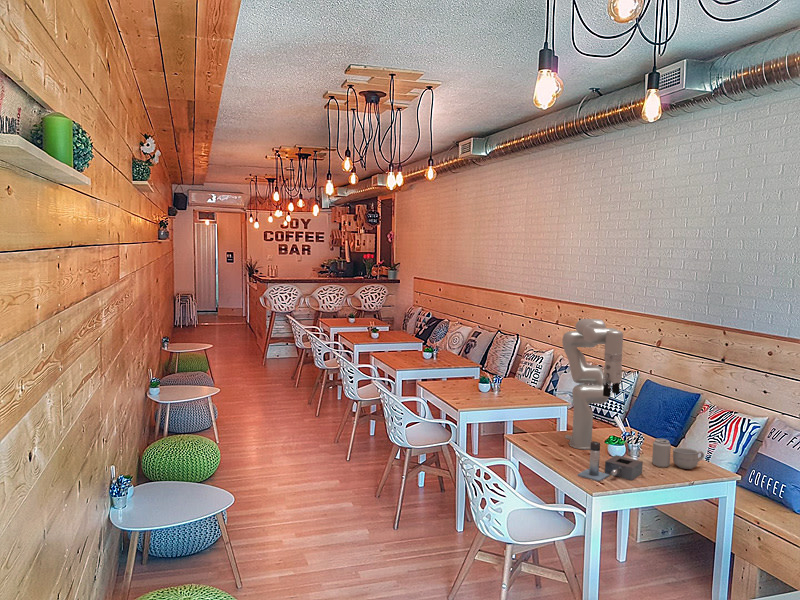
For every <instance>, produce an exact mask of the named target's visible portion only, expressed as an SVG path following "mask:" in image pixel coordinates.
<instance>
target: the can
mask: <svg viewBox="0 0 800 600" xmlns="http://www.w3.org/2000/svg"><path fill="white" fill-rule="evenodd" d="M671 448H672V445H671V443H670V441H669V440H668V439H666V438H654V441H653V443H652V456H651V457H652V458H651V459H652V460H651V463H652V464H653V466H655V465H656V466H655V467H657V466H659V467H658V468H663V467H665V468H668V467H669V466H670V463H671V462H670V461H671Z"/></svg>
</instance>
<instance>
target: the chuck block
mask: <svg viewBox="0 0 800 600" xmlns="http://www.w3.org/2000/svg"><path fill="white" fill-rule="evenodd" d="M604 463H605V464H604V473H606V474H610V475H609V476H612V477H613V476H614V477H617V478H620V477H621V478H620V479H625V480H627V481H628V480H629V481H633V480H635V479H636V478H638V477H640V476H641V475H642V474H643V461H642V460H637V459H634V458H629V457H625V456H621V455H617V454H615V455H614V456H612V457H610V458H609V459H607V460H605V461H604ZM640 474H641V475H640ZM637 476H638V477H637ZM634 478H635V479H634Z"/></svg>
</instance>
